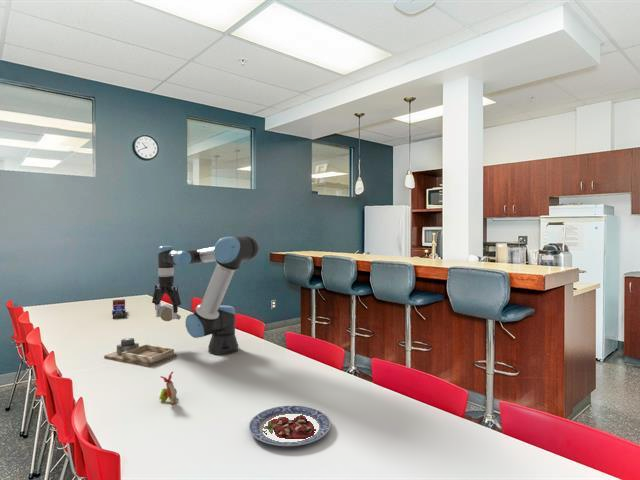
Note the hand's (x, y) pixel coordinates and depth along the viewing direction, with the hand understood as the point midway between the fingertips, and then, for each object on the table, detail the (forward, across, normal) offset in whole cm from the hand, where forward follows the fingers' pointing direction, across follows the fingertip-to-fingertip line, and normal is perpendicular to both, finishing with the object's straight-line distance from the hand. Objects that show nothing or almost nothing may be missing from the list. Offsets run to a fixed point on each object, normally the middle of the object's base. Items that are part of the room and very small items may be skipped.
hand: (166, 317), depth 213 cm
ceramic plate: (+16, -99, +48) cm, 112 cm away
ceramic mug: (+1, -1, -2) cm, 2 cm away
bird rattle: (+16, -50, +49) cm, 72 cm away
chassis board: (+16, 0, +17) cm, 23 cm away
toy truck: (+16, +88, -43) cm, 99 cm away
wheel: (+14, +9, +17) cm, 24 cm away
